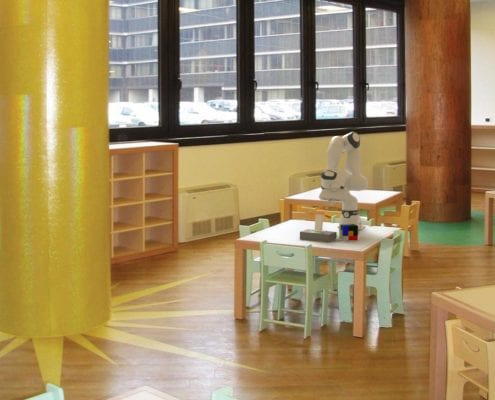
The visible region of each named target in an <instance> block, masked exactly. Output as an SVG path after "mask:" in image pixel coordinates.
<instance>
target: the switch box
mask: <svg viewBox="0 0 495 400" xmlns="http://www.w3.org/2000/svg"><path fill="white" fill-rule="evenodd" d="M337 234H338V233H337V231H331V230H325V229H324V230H323V229H322V231H319V230H315V229H310V228H308V229H307V228H306V229H304V230H301V231H299V240H305V239H306V240H307V241H317V242H324V241H326V243H330V242H333V241H335V240H337V237H338V236H337Z"/></svg>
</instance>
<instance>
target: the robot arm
mask: <svg viewBox="0 0 495 400" xmlns="http://www.w3.org/2000/svg"><path fill="white" fill-rule="evenodd" d="M360 145H361V136H360V135H359V133H358V132H355V131H351V132H349V133H346V134H344V135H343V136H339V135H336V136H333V137H332V138H331V140H330V141H329V144H328V146H327V151H326V160H327V169H325V170H323V171H322V172H321V175H320V183H321V184H320V189H321V192H320V193H319V195H318V198H319V200H320V201H327V205H328V206H333V205H334V204H335V203H336V202H338V203H339V202H340V203H341V204H342V206H341V207H342V208H341V215H340V216H339V221H338V222H339V223H338V224H355V225H357V226H358V231H359V230H360V231H362V230H364V228H366V225H363V219H362V218H361V216H360V214H359V213H360V209H358V198H357V197H356V196H355V195H352V194H351V193H350V192H362V191H366V190H367V189H368V187H369V181H368V178H367V177H366V176H364V175H363V173H362V172H361V164H362V152H361V151H362V150H361V149H360V148H359V147H360ZM344 153H346V159H345V165H344V169H337V168H338V166H339V163H340V160H341V157H342V155H343V154H344ZM337 228H338V229H339V225H337Z"/></svg>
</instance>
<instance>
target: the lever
mask: <svg viewBox="0 0 495 400" xmlns="http://www.w3.org/2000/svg"><path fill="white" fill-rule="evenodd" d="M314 215H315V218H314V219H315V221H314V230H319V231H322V230H323V225H324V224H323V223H324V215H325V211H321V210H315V211H314Z"/></svg>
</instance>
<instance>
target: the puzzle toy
mask: <svg viewBox="0 0 495 400" xmlns="http://www.w3.org/2000/svg"><path fill="white" fill-rule="evenodd" d="M338 224H339V223H338ZM338 226H339V228H338V229H339V230H338V235H339V237H338V239H340V240H341V241H343V242H350V241H351V242H352V241H353V242H355V241H359V230H358V226H357V225H355V224H339V225H338Z"/></svg>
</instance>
